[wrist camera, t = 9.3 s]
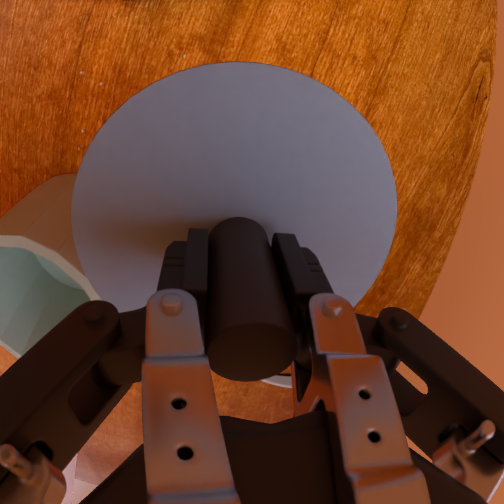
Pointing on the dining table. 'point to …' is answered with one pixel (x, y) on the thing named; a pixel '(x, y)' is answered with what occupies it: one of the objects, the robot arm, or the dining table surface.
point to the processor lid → (234, 200)
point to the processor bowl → (39, 266)
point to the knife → (279, 381)
